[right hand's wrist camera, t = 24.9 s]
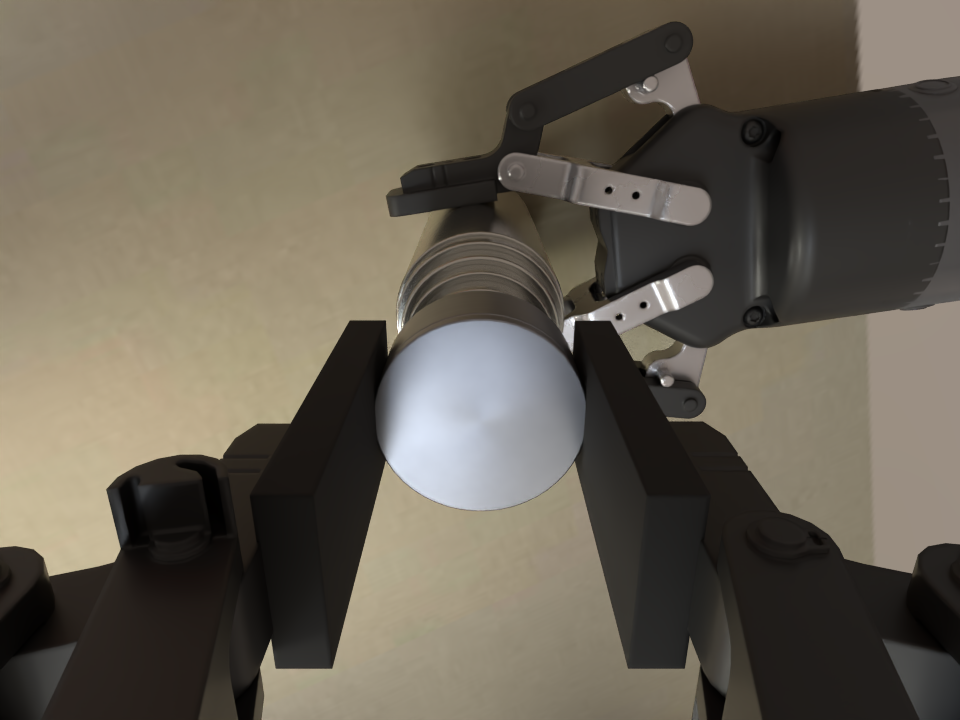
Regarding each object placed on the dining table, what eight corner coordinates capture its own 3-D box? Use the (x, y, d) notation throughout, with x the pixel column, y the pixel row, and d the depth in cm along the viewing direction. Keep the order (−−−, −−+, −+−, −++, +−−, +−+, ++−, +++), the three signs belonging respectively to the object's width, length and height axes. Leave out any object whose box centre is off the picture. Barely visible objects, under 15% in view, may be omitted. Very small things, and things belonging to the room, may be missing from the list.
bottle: (420, 185, 29) (341, 305, 12) (526, 171, 29) (589, 274, 12) (436, 288, 31) (386, 513, 14) (537, 275, 30) (604, 489, 14)
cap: (455, 492, 15) (452, 543, 14) (347, 355, 14) (328, 392, 12) (609, 405, 14) (627, 448, 13) (509, 251, 13) (514, 275, 11)
